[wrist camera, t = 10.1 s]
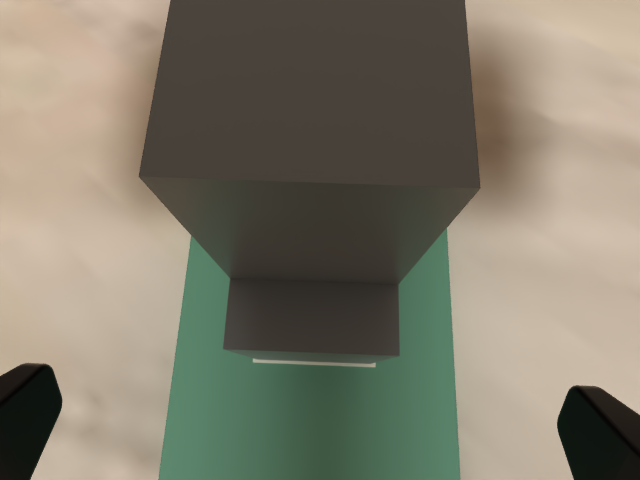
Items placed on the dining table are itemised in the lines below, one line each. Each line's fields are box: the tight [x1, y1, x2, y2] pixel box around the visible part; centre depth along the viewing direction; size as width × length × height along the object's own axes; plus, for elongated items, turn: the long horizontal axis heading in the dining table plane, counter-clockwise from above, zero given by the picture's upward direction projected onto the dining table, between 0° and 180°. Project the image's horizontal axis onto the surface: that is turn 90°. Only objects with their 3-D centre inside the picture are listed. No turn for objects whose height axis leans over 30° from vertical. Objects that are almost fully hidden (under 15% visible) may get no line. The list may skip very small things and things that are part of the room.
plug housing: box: [139, 0, 480, 364], centre depth 12 cm, size 7×4×12 cm
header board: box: [158, 228, 460, 480], centre depth 17 cm, size 16×11×5 cm
